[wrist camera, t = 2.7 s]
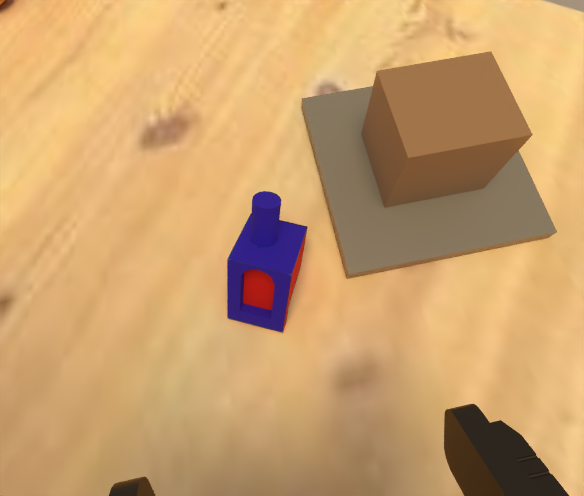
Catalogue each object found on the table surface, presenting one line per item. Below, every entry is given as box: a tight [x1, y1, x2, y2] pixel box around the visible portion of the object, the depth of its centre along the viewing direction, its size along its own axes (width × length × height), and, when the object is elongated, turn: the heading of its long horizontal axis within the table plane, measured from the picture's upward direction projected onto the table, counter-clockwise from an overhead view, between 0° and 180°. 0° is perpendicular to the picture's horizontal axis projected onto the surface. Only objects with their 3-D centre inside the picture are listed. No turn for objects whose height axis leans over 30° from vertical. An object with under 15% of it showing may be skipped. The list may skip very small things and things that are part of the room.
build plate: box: [302, 52, 557, 278], centre depth 26 cm, size 14×14×7 cm
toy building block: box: [228, 191, 307, 332], centre depth 24 cm, size 4×4×8 cm
